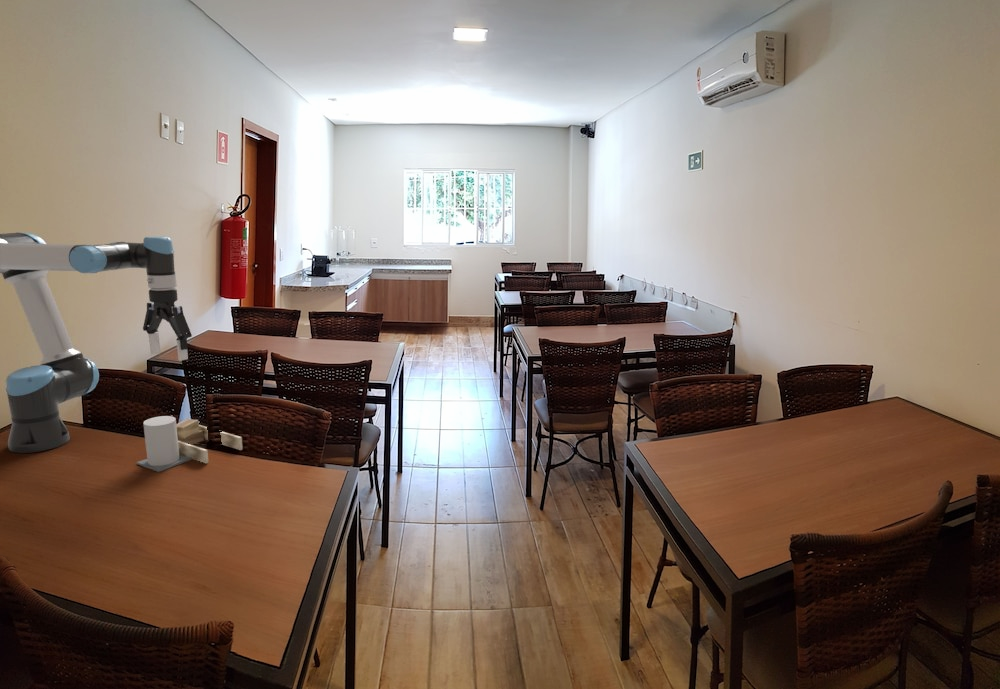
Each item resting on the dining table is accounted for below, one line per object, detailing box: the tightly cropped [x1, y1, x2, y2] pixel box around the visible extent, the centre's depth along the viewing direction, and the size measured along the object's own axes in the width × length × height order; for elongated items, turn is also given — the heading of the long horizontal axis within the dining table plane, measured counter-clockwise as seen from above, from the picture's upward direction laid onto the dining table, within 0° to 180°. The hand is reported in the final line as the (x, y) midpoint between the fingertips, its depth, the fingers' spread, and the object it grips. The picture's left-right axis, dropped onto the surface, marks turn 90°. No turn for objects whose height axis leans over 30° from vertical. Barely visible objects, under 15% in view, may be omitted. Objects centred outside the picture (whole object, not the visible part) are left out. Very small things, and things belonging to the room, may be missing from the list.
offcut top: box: [176, 418, 200, 438], centre depth 192 cm, size 4×7×4 cm, turn 169°
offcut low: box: [178, 430, 205, 445], centre depth 193 cm, size 4×9×4 cm, turn 150°
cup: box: [143, 415, 179, 466], centre depth 178 cm, size 8×8×12 cm
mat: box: [136, 454, 192, 473], centre depth 179 cm, size 10×10×1 cm
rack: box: [178, 424, 243, 464], centre depth 189 cm, size 22×13×4 cm, turn 62°
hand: (169, 356), depth 192 cm, fingers open, 13 cm apart
